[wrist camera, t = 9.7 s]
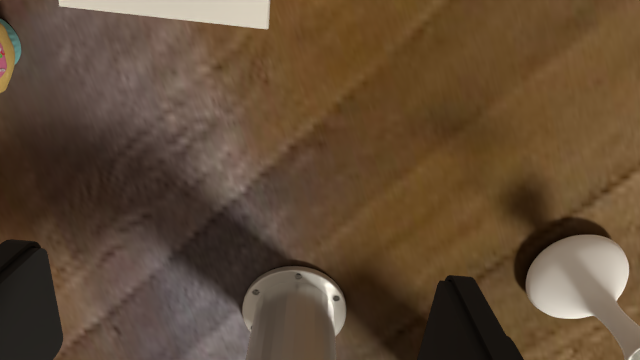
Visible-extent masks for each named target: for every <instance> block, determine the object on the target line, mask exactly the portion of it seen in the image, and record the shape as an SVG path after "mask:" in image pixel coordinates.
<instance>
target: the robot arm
mask: <svg viewBox="0 0 640 360" xmlns="http://www.w3.org/2000/svg"><path fill="white" fill-rule="evenodd" d="M242 314H243V319H244V322H245V324H246V326H247V328H248V330H249V331H250V332H251V334H250V340H249V345H248V350H247V355H246V360H336V343H335V336H336V335H337V334H338V333H339V332H340V330H341V329H342V327H343V325H344V322H345V319H346V301H345V298H344V295H343V292H342V291H341V289H340V287H339V286H338V285H337V284H336V283H335V282H334V281H333V280H332V279H331V278H330V277H328V276H327V275H326V274H324V273H322V272H320V271H317V270H315V269H311V268H308V267H301V266H286V267H281V268H276V269H273V270H271V271H268V272H266V273H264V274H263V275H261V276H260V277H258V278H257V279H256V280H255V281H254V282H253V283H252V284H251V286H250V287H249V288H248V290H247V292H246V295H245V297H244V302H243V308H242ZM62 342H63V333H62V327H61V322H60V317H59V312H58V306H57V301H56V296H55V291H54V286H53V280H52V275H51V270H50V265H49V260H48V254H47V251H46V250H45V249H43V248H41V247H40V245H39V244H38V243H37V242H35V241H23V240H6V241H4V242H3V243H1V244H0V360H53V359H54V357H55V356H56V355H57V353H58V352H59V350H60V348H61V345H62ZM417 360H524V359H523V358H522V356H521V354H520V352H519V351H518V349H517V347H516V345H515V344H514V342H513V341H512V340H511V338H509V337H508V336H506V334H505V333H504V331H503V329H502V327H501V325H500V324H499V322H498V320H497V318H496V317H495V315H494V313H493V311H492V310H491V308H490V306H489V304H488V302H487V301H486V299H485V297H484V295H483V294H482V292H481V290H480V288H479V287H478V285H477V283H476V281H475V280H474V279H473V278H472V277H465V276H452V275H449V276H447V278H446V279H445V281H439V283H438V285H437V289H436V292H435V296H434V300H433V303H432V307H431V311H430V314H429V318H428V322H427V325H426V329H425V333H424V337H423V340H422V344H421V348H420V351H419V355H418V359H417Z"/></svg>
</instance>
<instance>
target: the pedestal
mask: <svg viewBox="0 0 640 360" xmlns="http://www.w3.org/2000/svg"><path fill="white" fill-rule="evenodd" d="M59 6H62V7H71V8H80V9H89V10H98V11H107V12H116V13H125V14H134V15H143V16H152V17H161V18H170V19H179V20H188V21H197V22H206V23H215V24H224V25H233V26H243V27H252V28H261V29H268V28H269V12H270V0H59Z"/></svg>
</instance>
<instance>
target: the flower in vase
mask: <svg viewBox="0 0 640 360" xmlns="http://www.w3.org/2000/svg"><path fill="white" fill-rule="evenodd" d="M628 275H629V264H628V261H627V258H626V256H625V253H624V251H623V250H622V248H621V247H620V246H619V245H618V244H617V243H615V242H614V241H613V240H611V239H609V238H606V237H603V236H599V235H575V236H570V237H567V238H564V239H561V240H559V241H557V242H555V243H553V244H551V245H550V246H548V247H547V248H546V249H544V250H543V251H542V252H541V253H540V254H539V255H538V256H537V257H536V258H535V260H534V261H533V262H532V264H531V266H530V268H529V271H528V273H527V278H526V293H527V296H528V298H529V300H530V301H531V303H532V304H533V305H534V306H535V307H536V308H538V309H539V310H541V311H543V312H544V313H546V314H548V315H550V316H554V317H558V318H569V319H575V318H584V317H588V316H595V317H597V318H598V319H599V320H600V321H601V322H602V323H603V324H604V325H605V326H606V327H607V328H608V330H609V331H610V332H611V333H612V335H613V336H614V337H615V339H616V340H617V342H618V344H619V345H620V347H621V349H622V351H623V354H624V358H625V360H640V326H639V325H638V324H636V323H635V322H634V321H633V320H632V319H631V318H630V317H628V316H627V315H626V314H625V313H624V312H623V310H622V309H621V308H620V307H619V305H618V304H617V302H616V300H617V299H618V298H619V296H620V295H621V293H622V292H623V290H624V288H625V286H626V283H627V279H628Z"/></svg>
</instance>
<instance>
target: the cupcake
mask: <svg viewBox="0 0 640 360" xmlns="http://www.w3.org/2000/svg"><path fill="white" fill-rule="evenodd" d="M20 55H21V44H20V41H19V38H18V36H17V34H16V32H15V31H14V30H13V28H12V27H11V26H10V25H9V24H8V23H6V22H5V21H4V20H2V19H0V93H1V92H3V91H5V90H6V88H7V86H8V83H9V81H10V79H11V76H12V72H13V69H14V65H15V64H16V63H17V62H18V60H19V58H20Z"/></svg>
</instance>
